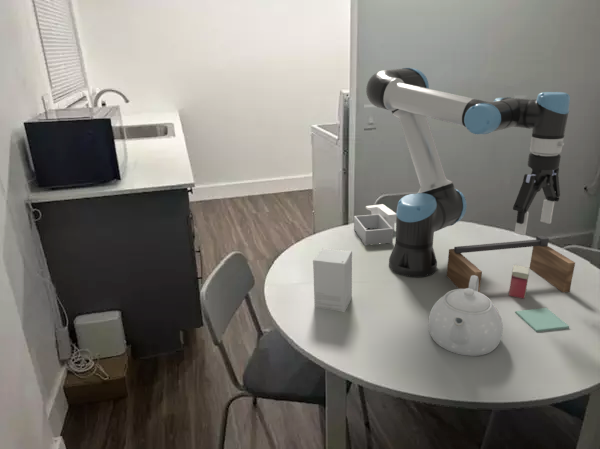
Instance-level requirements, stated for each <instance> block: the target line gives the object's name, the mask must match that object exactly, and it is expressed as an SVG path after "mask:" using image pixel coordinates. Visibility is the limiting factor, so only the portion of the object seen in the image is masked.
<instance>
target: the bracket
mask: <svg viewBox="0 0 600 449" xmlns="http://www.w3.org/2000/svg"><path fill="white" fill-rule="evenodd" d="M365 209H366V210H367V211H370V212H371V214H370V215H374V214H380V215H381V216H382V217H383V218H384V220H385V221H386V222H387V223H388V224H389V225H390V226H391V227H392V228H393V230H394V231H395V224H396V218H397V215H396V212H395V211H393V209H391V208H390V207H388V206H386V205H385V204H383V203H381V204H380V203H379V204H373V205H366V206H365Z"/></svg>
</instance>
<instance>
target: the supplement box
mask: <svg viewBox="0 0 600 449" xmlns="http://www.w3.org/2000/svg"><path fill="white" fill-rule="evenodd" d="M312 265H313V295H314V297H313V298H314V303H313V304H314V307H315V308H317V309H325V310H331V311H337V312H343V313H345V312H346V311H347V309H348V307H349V305H350V302H351V300H352V298H353V289H352V288H353V267H352V266H353V251H352V250H341V249H333V248H331V249H330V248H324V247H322V248H321V249H320V251H319V252H318V254H317V255H316V256H315V258H314V259H313V260H312Z"/></svg>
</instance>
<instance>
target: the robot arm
mask: <svg viewBox="0 0 600 449" xmlns="http://www.w3.org/2000/svg"><path fill="white" fill-rule="evenodd" d="M366 97H367V99H368V101H369V102H370V103H371V104H372V105H373V106H375V107H377V108H379V109H384V110H388V111H391V114H392V116H394V117H396V118H397V119H398V120H399V123H400V127H401V129H402V132H403V136H404V139H405V142H406V145H407V149H408V151H409V154H410V158H411V161H412V164H413V167H414V170H415V174H416V176H417V179H418V183H419V185H420V187H419V190H418V192H417V193H409V194H406V195H404V196H402V197H401V198H400V199H399V201H397V206H396V212H395V213H396V215H397V218H396V223H395V224H396V225H395V243H394V245H393V249H392V251H391V253H390V256H389V257H388V258H389V259H388V267H389V268H390V270H391V271H392V272H394V273H395V274H398V275H400V276H406V277H409V278H411V277H412V278H423V277H427V276H431V275H433V274H434V273H436V272H437V269H438V267H437V266H438V261H437V257H436V253H435V249H434V237H435V235H434V234H435V232H437V231H440V230H442V229H445V228H447V227H451V226H453V225H455V224H456V223H458V222H460V221H461V220H462V219H463V218H464V217H465V214H466V213H467V207H468V206H467V205H468V204H467V200H466V197H465V195H464V194H463V192H462V191H460V190H459V189H457V188H455V185H454V183H453V182H454V181H451V180H450V179H448V178H447V177H446V174H445V171H444V168H443V164H442V161H441V157H440V155H439V151H438V148H437V145H436V141H435V138H434V136H433V133H432V130H431V127H430V122H429V120H428V119H429V118H431V119H434V120H438V121H442V122H446V123H450V124H452V125H456V126H460V127H464V128H466V129H467V130H468V132H470V133H471V134H473V135H474V134H475V135H487V134H491V133H493V132H497V131H501V130H506V129H511V128H521V129H522V128H523V129H531V130H532V133H531V137H530V138H531V140H530V144H529V145H530V146H529V151H530V152H529V155H528V159H527V167H529V168H530V169H532V170H531V172H530V174H528V173H525V174H524V176H523V180H522V183H521V186H520V189H519V191H518V194H517V196H516V199H515V202H514V203H513V204H514V205H513V206H512V209H513V210H514V211H517V213H516V221H515V227H514V234H517V235H521V236H526V233H527V226H528V220H529V213H530V212H529V209H530V206H531V205H532V203H533V202H534V199H535V197H536V195H537V194H538V193H539V192H541V190H542V192H543V194H544V197H545V199H543V202H542V208H541V215H540V220H539V221H540V222H541V223H545V224H549V225H550V224H552V220H553V213H554V208H555V207H554V206H555V202H559V201H560V197H561V190H560V178H559V173H560V165H561V164H560V163H561V157H562V156H561V153H562V151H563V150H562V149H563V147H564V146H565V142H564V139H565V134H566V133H565V132H566V127H567V122H568V117H569V114H570V102H571V96H570V95H569V94H568V93H567V92H562V91H544V92H543V91H542V92H540V93H538V94H537V97H536V99H535V98H534V99H530V98H529V99H527V98H517V97H510V96H509V97H508V96H507V97H496V98H495V99H494V100H493V101H487V100H486V101H485V100H481V99H477V98H473V97H469V96H468V97H467V96H463V95H460V94H459V95H458V94H453V93H452V92H451V93H449V92H445V91H441V90H436V89H433V88H432V89H431V88H430V84H429V80H428V78H427V76H426V75H425V74H424V72H423V71H421V70H420V69H418V68H413V67H403V68H396V69H395V68H393V69H391V68H390V69H382V70H379V71H376V72H375V73H374V74H373V75H371V77H370V78H369V79H368V81H367V84H366Z"/></svg>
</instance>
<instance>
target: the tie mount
mask: <svg viewBox="0 0 600 449" xmlns="http://www.w3.org/2000/svg"><path fill="white" fill-rule="evenodd" d="M446 266H447V267H446V278H448V279H449V280H450V281H451V282H452V283H453V284H454V286H455V287H456V288H457V289H466V288H469V282H470V278H471V276H472V275H475V276H478V279H479V286H478V292H480V293H481V291H480V290H481V284H482V283H481V282H482V275H483V274H482V273H483V271H482V270H480V269H479V268H478V267H477V266H476V265H475V264H474V263H473V262H471V261H470V260H469V259H468V258H467V257H465V256H464V255H463V253H455V252H454V248H449V249H448V257H447V265H446ZM575 266H576V262H575V261H574V260H572V259H570V258H568V257H566V256H565V255H563V254H562V253H560V252H559V251H557V250H556V249H553V248H552V247H551V246H549V245H548V246H532V252H531V256H530V264H529V267H530V268H529V270H531V271H532V272H534V273H535V274H536V275H538V276H540V277H541V278H542V279H543V280H545V281H546V282H548V283H549V284H551V285H552V286H554V287H555V288H556V289H558V290H559V291H561V293H569V292H570V290H571V286H572V280H573V276H574V270H575Z"/></svg>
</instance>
